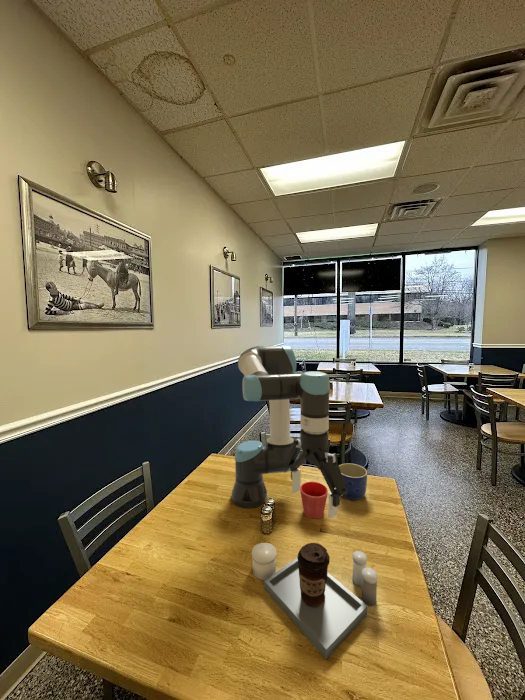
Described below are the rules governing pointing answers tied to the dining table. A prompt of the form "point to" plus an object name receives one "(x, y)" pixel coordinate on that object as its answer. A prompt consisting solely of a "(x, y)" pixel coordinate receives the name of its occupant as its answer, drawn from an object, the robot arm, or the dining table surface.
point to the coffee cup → (313, 573)
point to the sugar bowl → (264, 560)
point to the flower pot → (313, 499)
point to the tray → (317, 608)
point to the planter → (354, 480)
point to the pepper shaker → (369, 586)
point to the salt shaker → (358, 566)
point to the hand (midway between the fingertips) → (313, 503)
